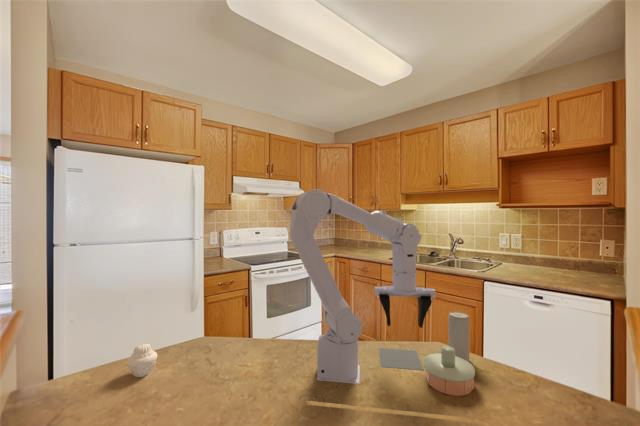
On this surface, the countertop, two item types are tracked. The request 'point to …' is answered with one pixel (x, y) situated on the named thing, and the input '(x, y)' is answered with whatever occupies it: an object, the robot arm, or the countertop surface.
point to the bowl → (450, 385)
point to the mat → (400, 359)
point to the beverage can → (459, 334)
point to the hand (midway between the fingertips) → (404, 325)
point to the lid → (449, 366)
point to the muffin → (142, 360)
